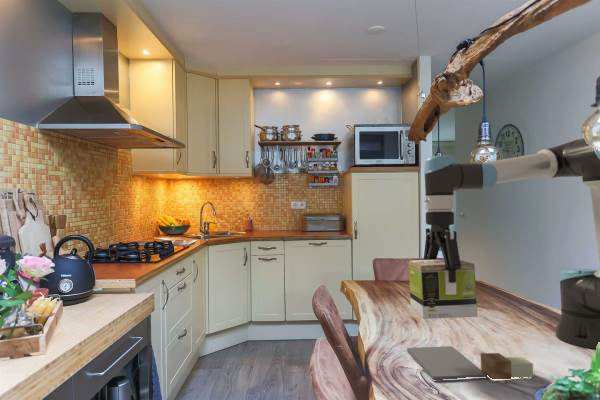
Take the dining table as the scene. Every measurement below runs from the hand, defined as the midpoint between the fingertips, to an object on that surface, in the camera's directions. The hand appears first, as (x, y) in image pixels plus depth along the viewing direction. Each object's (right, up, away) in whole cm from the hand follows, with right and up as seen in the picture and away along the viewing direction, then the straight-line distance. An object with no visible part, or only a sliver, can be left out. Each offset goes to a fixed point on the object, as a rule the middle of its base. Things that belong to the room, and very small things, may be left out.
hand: (441, 289), depth 98 cm
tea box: (0, -7, 0) cm, 7 cm away
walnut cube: (+11, -21, -8) cm, 25 cm away
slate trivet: (0, -21, 0) cm, 21 cm away
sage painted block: (+17, -21, -7) cm, 28 cm away
